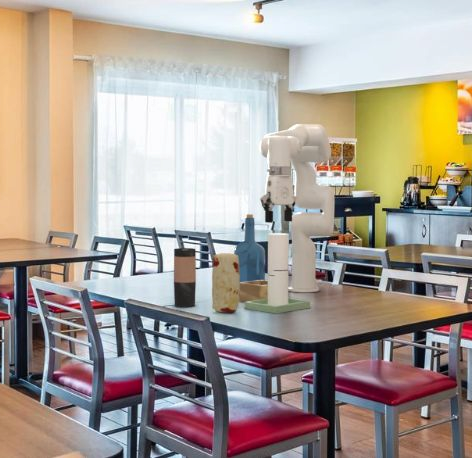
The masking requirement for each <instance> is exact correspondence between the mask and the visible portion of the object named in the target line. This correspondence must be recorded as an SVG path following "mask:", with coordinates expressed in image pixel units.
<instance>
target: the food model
mask: <svg viewBox="0 0 472 458" xmlns="http://www.w3.org/2000/svg"><path fill="white" fill-rule="evenodd" d="M211 272H212V273H211V274H212V275H211V299H212V305H211V306H212V309H213V310H214V311H215V312H218V313H219V312H220V313H228V314H232V313H236V312H237V310H238V308H239V307H238V306H239V303H240V302H239V290H240V275H239V258H238V256H237V255H235V254H234V253H229V252H227V253H226V252H222V253H221V252H220V253H216V254H214V255H213V256H212V271H211Z"/></svg>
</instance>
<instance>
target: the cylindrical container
mask: <svg viewBox="0 0 472 458" xmlns="http://www.w3.org/2000/svg"><path fill="white" fill-rule="evenodd" d="M289 251H290V233H285V232H284V233H282V232H272V233H271V232H270V233H267V281H268V305H271V306H281V305H287V304H288V298H289V291H288V287H289V270H290V269H289V266H290V265H289V263H290V262H289V261H290V260H289V259H290V257H289V256H290V253H289Z"/></svg>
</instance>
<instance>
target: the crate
mask: <svg viewBox="0 0 472 458" xmlns="http://www.w3.org/2000/svg"><path fill="white" fill-rule="evenodd" d="M261 299H268V280H266V279H265V280H256V281H247V282H240V290H239V302H238V303H244V304H245V302H248V301H254V300H261Z"/></svg>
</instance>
